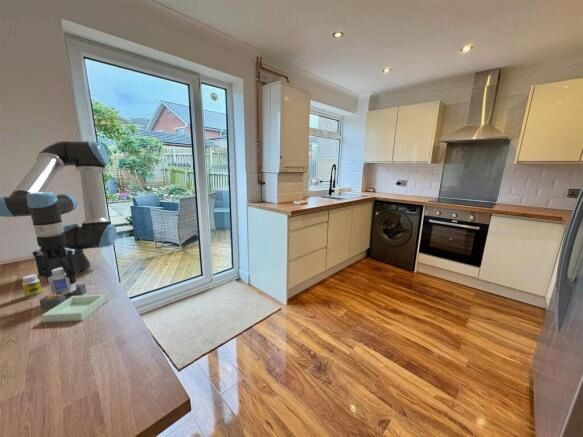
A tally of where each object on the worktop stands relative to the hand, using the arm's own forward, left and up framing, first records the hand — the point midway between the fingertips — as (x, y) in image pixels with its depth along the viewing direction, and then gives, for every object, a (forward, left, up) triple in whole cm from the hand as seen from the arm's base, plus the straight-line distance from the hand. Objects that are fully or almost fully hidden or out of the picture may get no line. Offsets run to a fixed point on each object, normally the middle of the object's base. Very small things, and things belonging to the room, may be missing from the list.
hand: (64, 291), depth 92 cm
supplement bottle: (-5, -16, -4) cm, 17 cm away
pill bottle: (0, 0, -1) cm, 1 cm away
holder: (0, 0, -4) cm, 4 cm away
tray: (+9, +12, -4) cm, 15 cm away
